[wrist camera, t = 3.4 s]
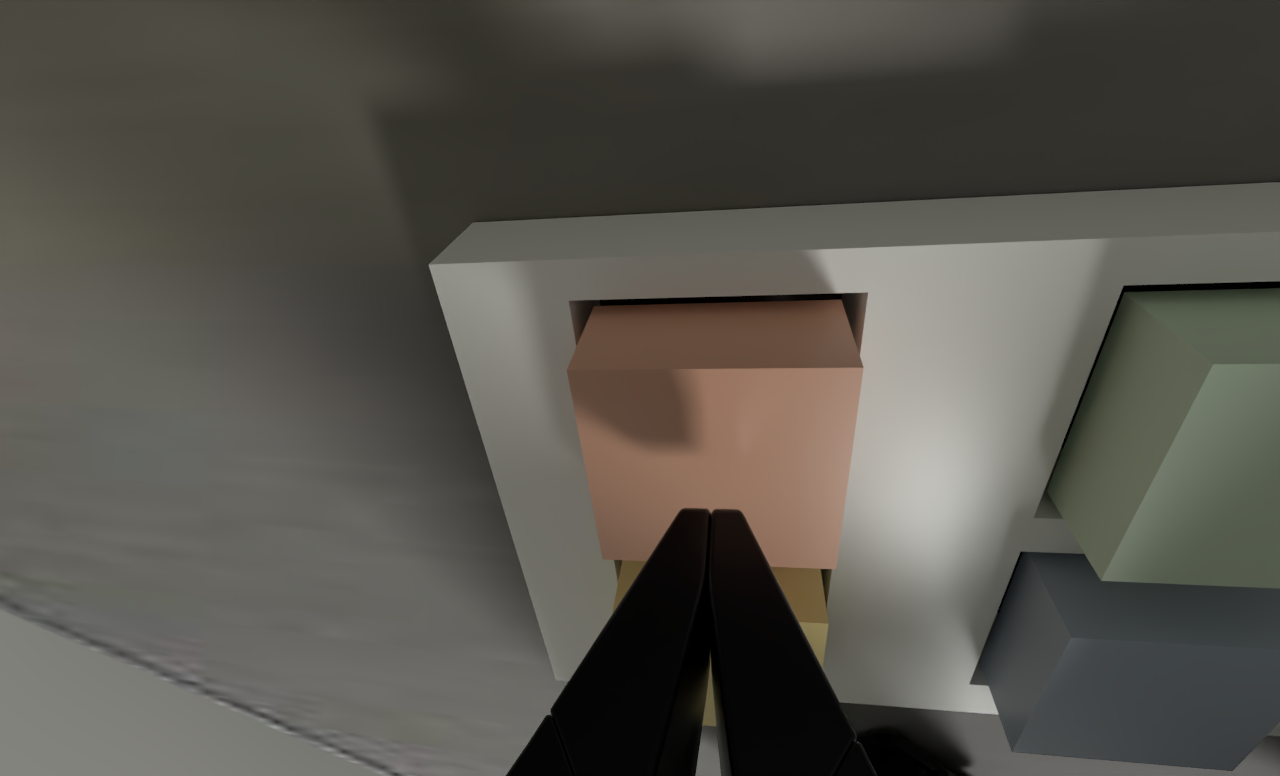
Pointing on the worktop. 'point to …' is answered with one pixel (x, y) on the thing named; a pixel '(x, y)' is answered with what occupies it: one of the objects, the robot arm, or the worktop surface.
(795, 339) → the terracotta key
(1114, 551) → the sage key
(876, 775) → the robot arm
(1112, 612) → the slate key
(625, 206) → the worktop surface
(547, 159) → the worktop surface
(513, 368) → the keypad base
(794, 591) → the mustard key
